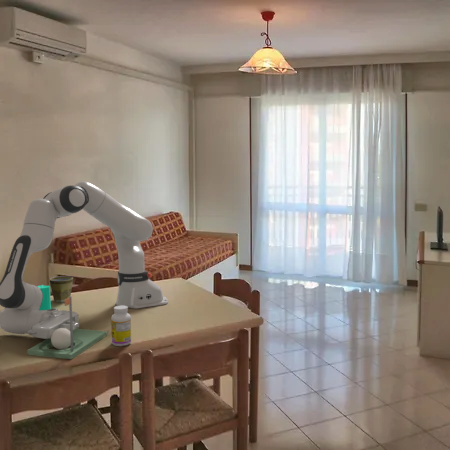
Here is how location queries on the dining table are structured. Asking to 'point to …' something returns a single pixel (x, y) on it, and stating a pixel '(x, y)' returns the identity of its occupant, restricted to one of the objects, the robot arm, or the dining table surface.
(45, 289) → the candle
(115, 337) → the supplement bottle
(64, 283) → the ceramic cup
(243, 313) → the dining table surface
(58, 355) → the green
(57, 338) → the ball
